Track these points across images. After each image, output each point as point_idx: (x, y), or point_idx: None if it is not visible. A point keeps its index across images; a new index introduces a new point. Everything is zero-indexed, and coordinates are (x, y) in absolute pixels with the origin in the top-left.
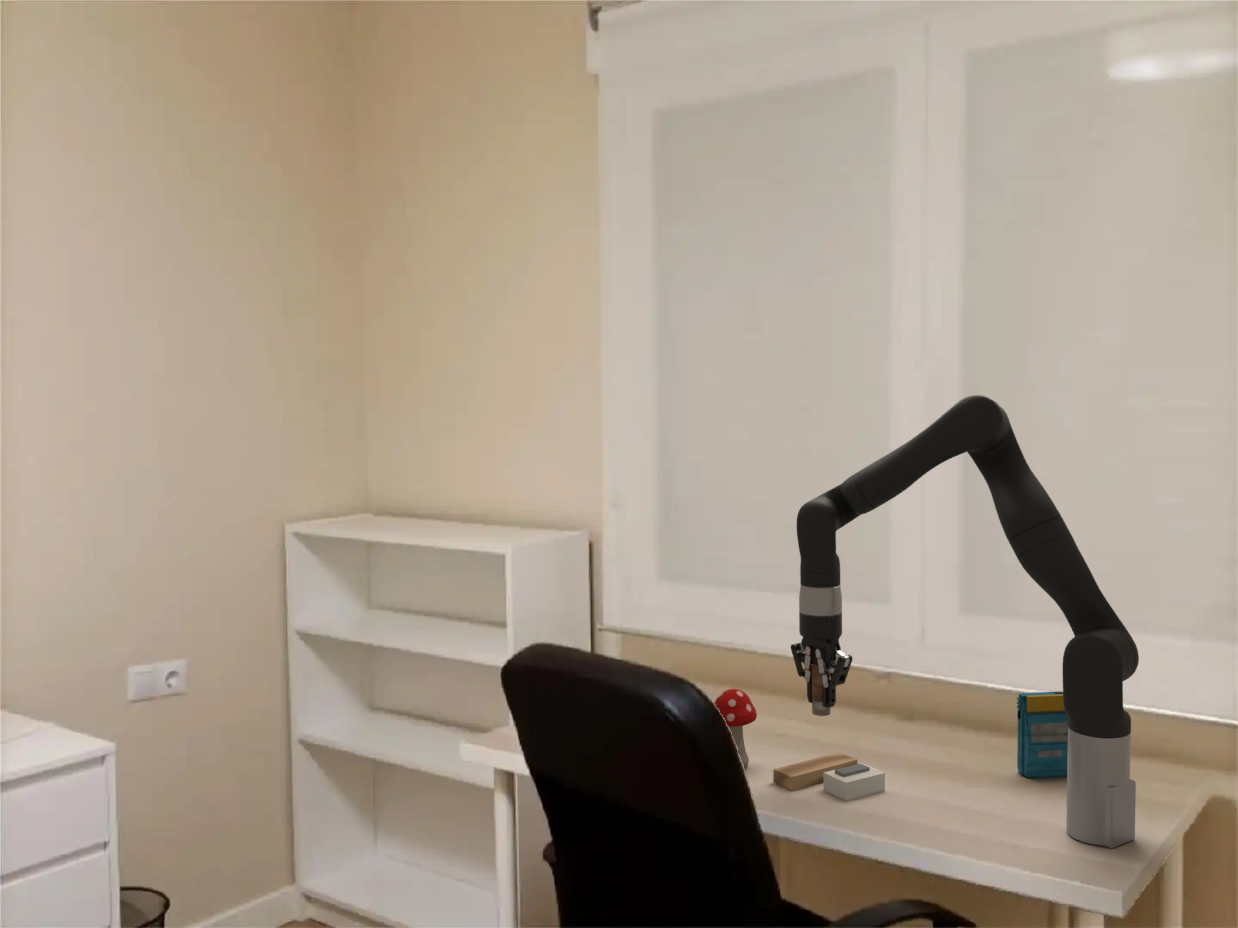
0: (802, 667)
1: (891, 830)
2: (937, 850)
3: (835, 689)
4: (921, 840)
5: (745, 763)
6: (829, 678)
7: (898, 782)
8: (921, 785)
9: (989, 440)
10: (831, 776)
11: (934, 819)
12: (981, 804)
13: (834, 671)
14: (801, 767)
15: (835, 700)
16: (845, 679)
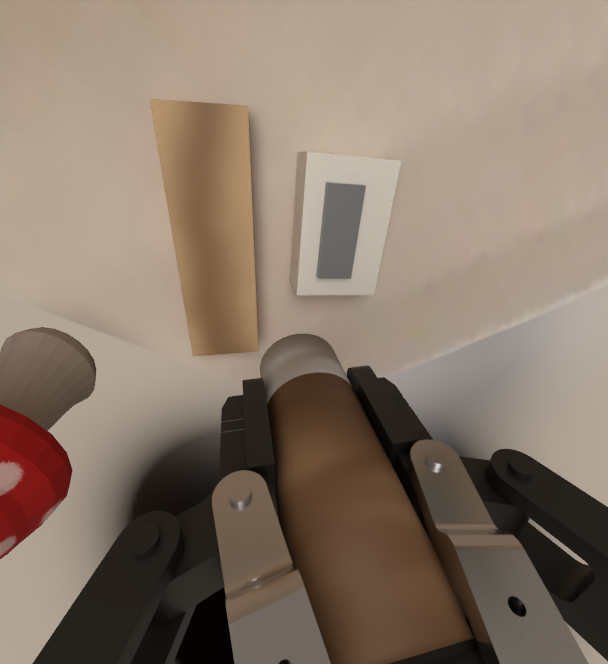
0: (172, 652)
1: (486, 303)
2: (566, 297)
3: (428, 435)
4: (537, 292)
5: (84, 356)
6: (409, 500)
7: (371, 69)
8: (429, 27)
9: None
10: (325, 294)
11: (530, 204)
12: (600, 17)
13: (574, 620)
14: (217, 298)
15: (398, 391)
16: (562, 481)
